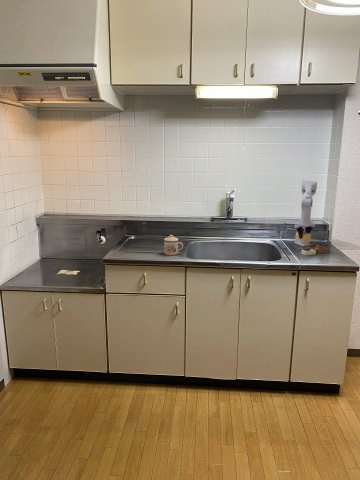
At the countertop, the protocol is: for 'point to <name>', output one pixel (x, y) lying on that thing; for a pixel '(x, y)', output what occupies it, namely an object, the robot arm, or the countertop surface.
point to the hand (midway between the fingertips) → (303, 238)
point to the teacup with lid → (171, 245)
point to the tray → (316, 248)
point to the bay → (308, 252)
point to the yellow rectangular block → (305, 236)
